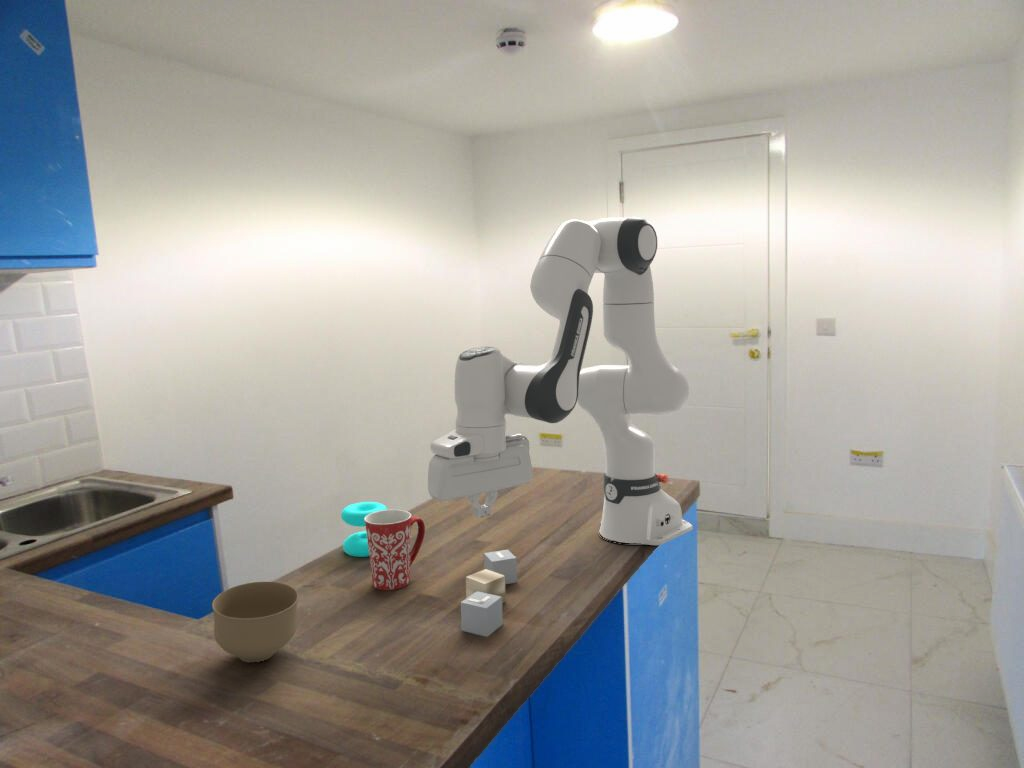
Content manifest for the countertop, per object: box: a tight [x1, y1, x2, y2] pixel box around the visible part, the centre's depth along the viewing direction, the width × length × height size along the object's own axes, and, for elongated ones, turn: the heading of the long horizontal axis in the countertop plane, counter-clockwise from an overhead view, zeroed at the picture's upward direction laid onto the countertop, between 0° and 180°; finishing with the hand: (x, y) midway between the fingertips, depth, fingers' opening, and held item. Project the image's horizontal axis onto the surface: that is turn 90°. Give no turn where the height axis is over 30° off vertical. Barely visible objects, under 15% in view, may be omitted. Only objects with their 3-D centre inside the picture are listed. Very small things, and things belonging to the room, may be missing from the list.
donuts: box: [340, 501, 388, 558], centre depth 159 cm, size 10×10×10 cm
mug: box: [364, 509, 426, 591], centre depth 141 cm, size 13×9×14 cm
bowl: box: [211, 581, 300, 663], centre depth 112 cm, size 13×13×10 cm
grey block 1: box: [460, 591, 504, 638], centre depth 121 cm, size 5×5×5 cm
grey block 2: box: [483, 549, 518, 585], centre depth 141 cm, size 5×5×5 cm
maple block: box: [465, 569, 506, 604], centre depth 131 cm, size 5×5×5 cm
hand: (483, 516), depth 129 cm, fingers closed
